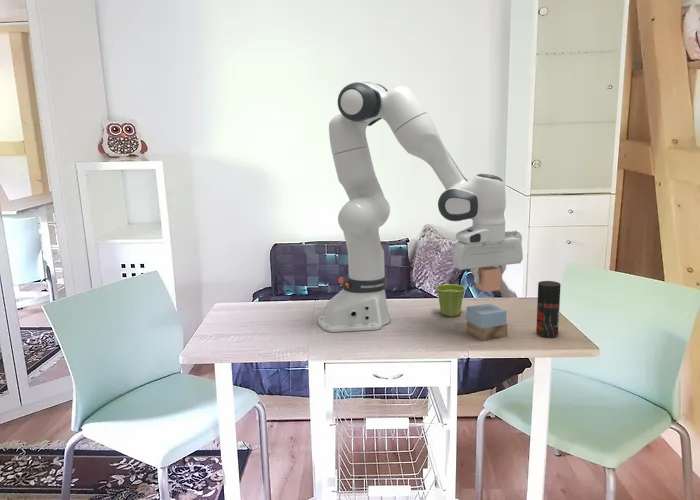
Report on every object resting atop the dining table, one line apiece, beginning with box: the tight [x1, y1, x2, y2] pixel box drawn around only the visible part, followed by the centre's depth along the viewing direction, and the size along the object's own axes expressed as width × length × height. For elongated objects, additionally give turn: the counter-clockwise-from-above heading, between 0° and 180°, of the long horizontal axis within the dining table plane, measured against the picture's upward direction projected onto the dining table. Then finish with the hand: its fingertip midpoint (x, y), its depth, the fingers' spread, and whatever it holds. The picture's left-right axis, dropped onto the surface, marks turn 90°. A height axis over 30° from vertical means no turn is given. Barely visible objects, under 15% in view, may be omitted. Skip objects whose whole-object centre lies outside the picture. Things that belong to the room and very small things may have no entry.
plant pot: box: [435, 283, 467, 317], centre depth 187 cm, size 9×9×9 cm
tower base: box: [466, 320, 509, 342], centre depth 168 cm, size 8×8×4 cm
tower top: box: [465, 303, 507, 328], centre depth 167 cm, size 8×8×4 cm
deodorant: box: [535, 280, 561, 339], centre depth 166 cm, size 6×6×15 cm
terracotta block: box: [475, 266, 502, 293], centre depth 165 cm, size 5×5×6 cm
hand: (488, 281), depth 165 cm, fingers closed on terracotta block, 5 cm apart
